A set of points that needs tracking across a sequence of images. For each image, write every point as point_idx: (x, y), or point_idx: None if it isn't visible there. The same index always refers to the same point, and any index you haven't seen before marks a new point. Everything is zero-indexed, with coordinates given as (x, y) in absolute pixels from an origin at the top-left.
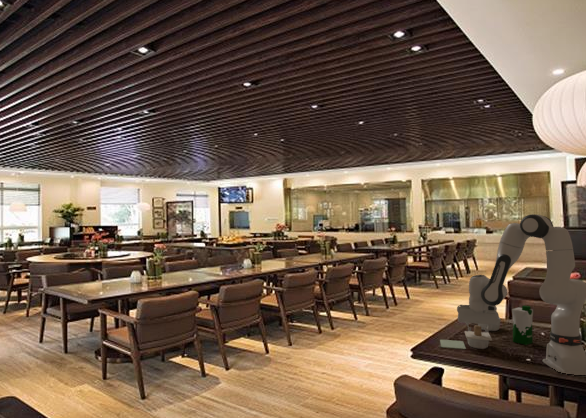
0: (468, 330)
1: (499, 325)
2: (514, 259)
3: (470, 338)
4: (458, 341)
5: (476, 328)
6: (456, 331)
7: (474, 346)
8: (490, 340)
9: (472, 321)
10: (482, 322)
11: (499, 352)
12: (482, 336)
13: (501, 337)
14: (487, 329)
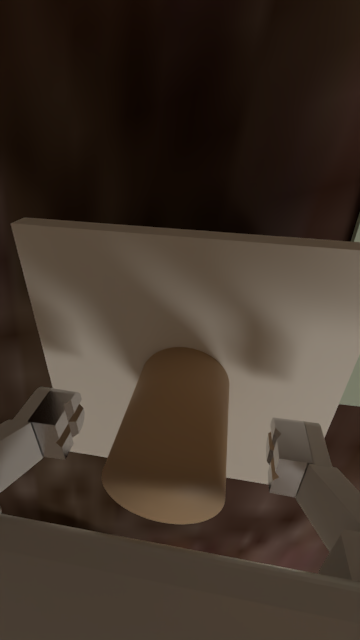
0: (321, 429)
1: None
2: None
3: (331, 243)
4: (352, 390)
5: (196, 436)
6: (271, 549)
7: None
8: (43, 219)
9: (286, 623)
10: (27, 555)
11: (15, 138)
12: (135, 328)
13: (35, 475)
14: (27, 419)
